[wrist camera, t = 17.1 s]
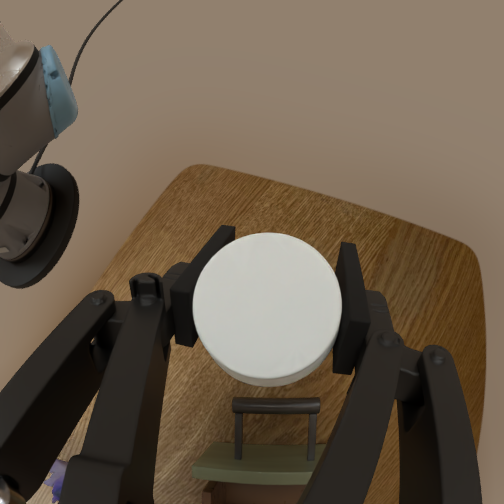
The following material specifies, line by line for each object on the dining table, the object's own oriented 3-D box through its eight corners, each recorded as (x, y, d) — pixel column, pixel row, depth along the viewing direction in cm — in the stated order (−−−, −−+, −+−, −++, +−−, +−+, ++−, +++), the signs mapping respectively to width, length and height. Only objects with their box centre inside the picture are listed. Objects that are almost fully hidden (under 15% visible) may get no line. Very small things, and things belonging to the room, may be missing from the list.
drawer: (214, 388, 28) (191, 398, 21) (341, 389, 27) (360, 400, 19) (214, 550, 21) (198, 586, 14) (325, 552, 20) (333, 590, 12)
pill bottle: (214, 309, 19) (150, 263, 10) (294, 270, 20) (301, 189, 10) (253, 390, 17) (219, 425, 8) (337, 348, 18) (390, 338, 8)
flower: (74, 444, 21) (21, 493, 16) (137, 495, 22) (84, 541, 16) (75, 425, 29) (31, 466, 23) (124, 468, 30) (81, 508, 24)
